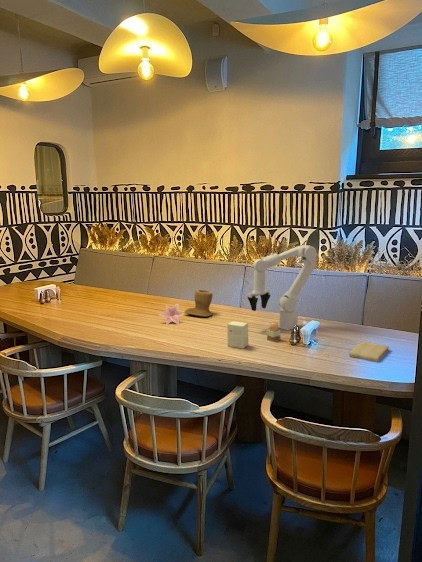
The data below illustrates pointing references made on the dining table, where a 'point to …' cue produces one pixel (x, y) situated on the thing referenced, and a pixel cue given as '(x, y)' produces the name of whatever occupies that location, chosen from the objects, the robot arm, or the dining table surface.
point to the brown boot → (201, 304)
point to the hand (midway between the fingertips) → (258, 309)
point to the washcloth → (369, 351)
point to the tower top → (273, 333)
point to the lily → (171, 314)
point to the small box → (237, 334)
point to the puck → (273, 326)
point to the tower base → (273, 338)
